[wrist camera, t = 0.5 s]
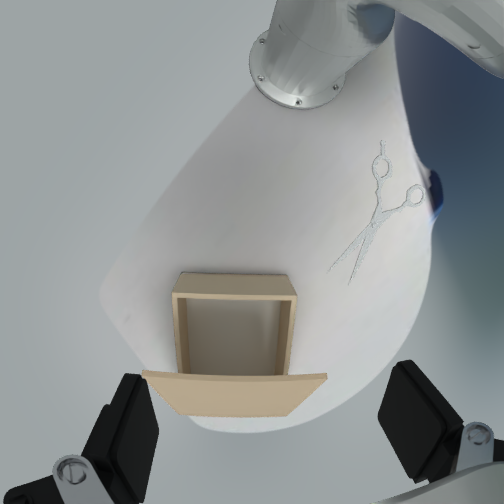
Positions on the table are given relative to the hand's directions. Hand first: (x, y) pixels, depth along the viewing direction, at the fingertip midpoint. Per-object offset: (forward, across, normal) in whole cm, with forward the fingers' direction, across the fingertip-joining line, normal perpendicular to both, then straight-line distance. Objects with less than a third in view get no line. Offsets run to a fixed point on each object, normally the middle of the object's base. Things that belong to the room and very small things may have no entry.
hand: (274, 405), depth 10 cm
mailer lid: (+17, +2, +15) cm, 23 cm away
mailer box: (+30, +2, +14) cm, 33 cm away
